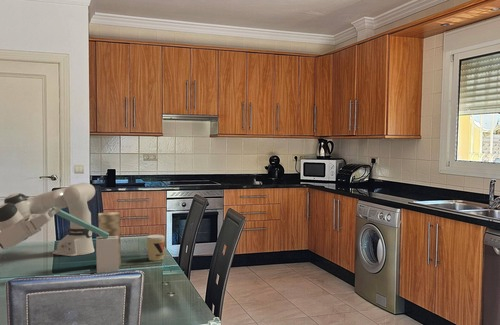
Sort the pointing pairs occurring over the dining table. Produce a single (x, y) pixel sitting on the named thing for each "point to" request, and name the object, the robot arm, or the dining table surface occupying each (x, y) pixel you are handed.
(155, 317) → the dining table surface
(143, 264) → the dining table surface
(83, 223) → the teal board
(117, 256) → the grey slot box
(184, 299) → the dining table surface
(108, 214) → the birch stand
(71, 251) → the robot arm
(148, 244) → the coffee cup
